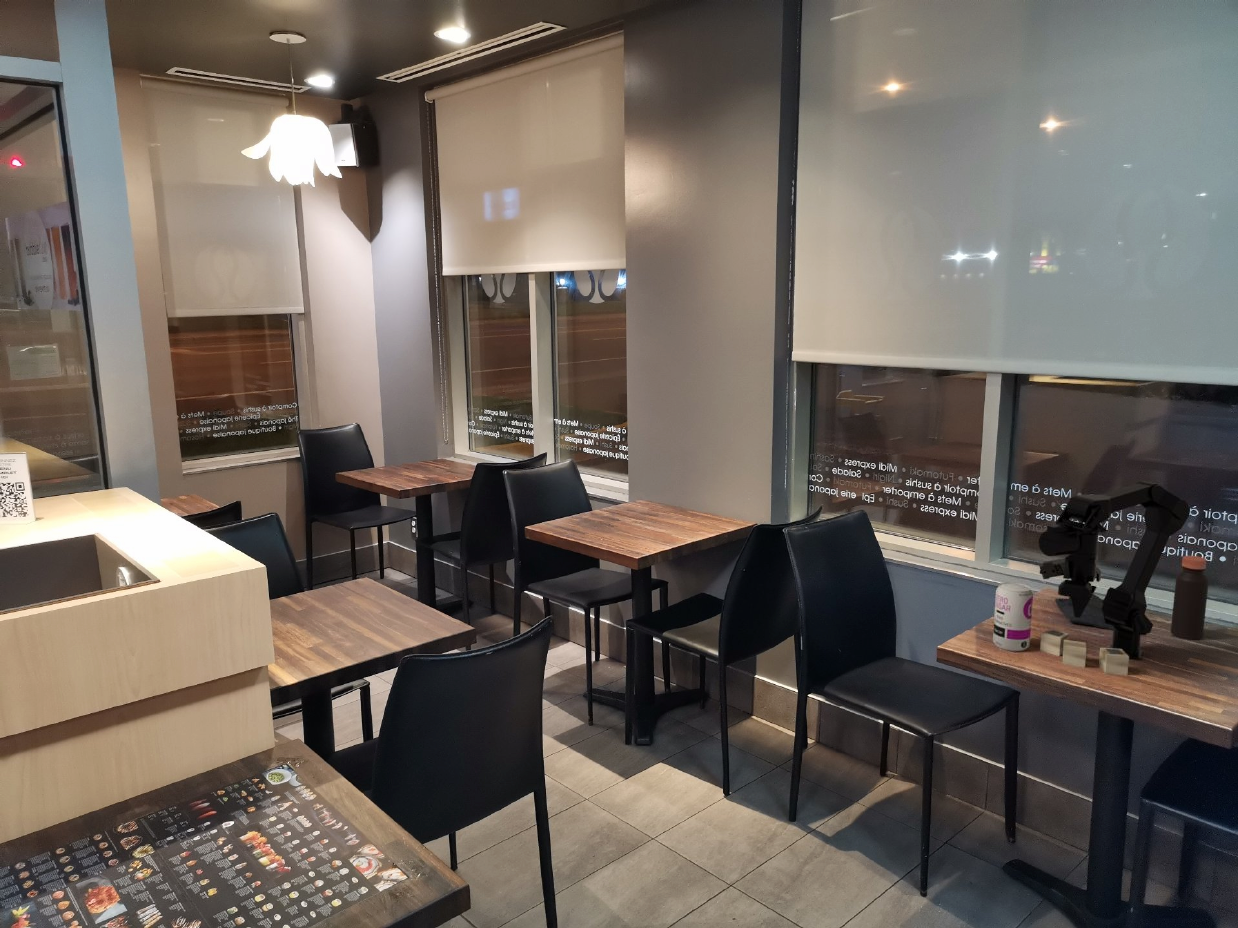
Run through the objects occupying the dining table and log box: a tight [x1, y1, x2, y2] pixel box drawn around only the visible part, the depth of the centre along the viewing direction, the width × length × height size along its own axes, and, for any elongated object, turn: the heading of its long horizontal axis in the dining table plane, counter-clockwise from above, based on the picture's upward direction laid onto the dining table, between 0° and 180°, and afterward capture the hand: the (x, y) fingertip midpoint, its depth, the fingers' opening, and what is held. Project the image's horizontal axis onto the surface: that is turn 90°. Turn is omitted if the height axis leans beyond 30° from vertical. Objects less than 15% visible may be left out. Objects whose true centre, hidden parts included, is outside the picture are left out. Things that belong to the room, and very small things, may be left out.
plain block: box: [1062, 639, 1087, 669], centre depth 200 cm, size 4×4×4 cm
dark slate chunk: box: [1054, 593, 1114, 631], centre depth 232 cm, size 15×22×5 cm
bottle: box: [1170, 555, 1210, 640], centre depth 215 cm, size 7×7×20 cm
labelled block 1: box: [1039, 628, 1070, 657], centre depth 207 cm, size 4×4×5 cm
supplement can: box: [992, 582, 1034, 652], centre depth 210 cm, size 8×8×15 cm
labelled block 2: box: [1098, 647, 1130, 676], centre depth 195 cm, size 4×4×5 cm
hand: (1077, 617), depth 199 cm, fingers closed
